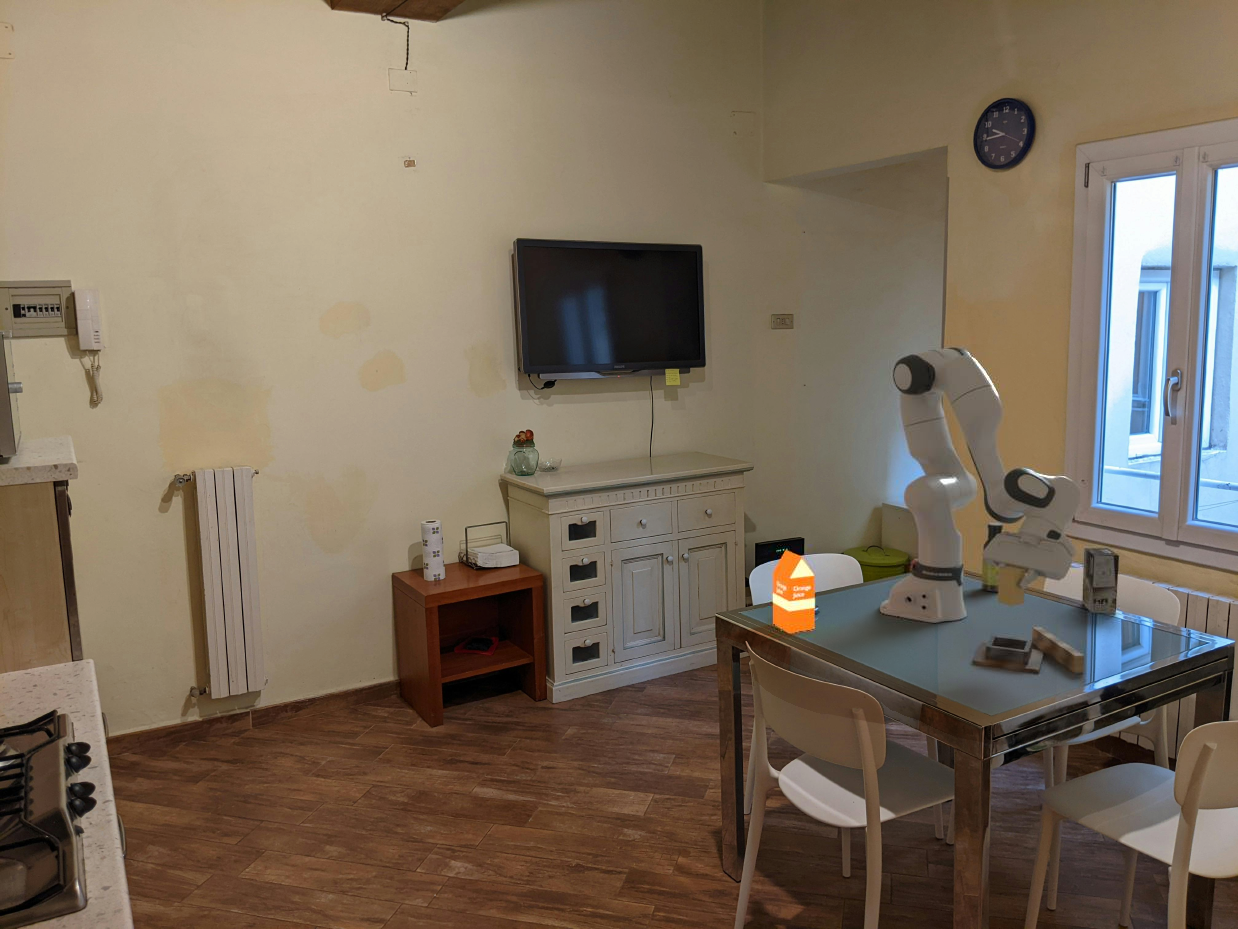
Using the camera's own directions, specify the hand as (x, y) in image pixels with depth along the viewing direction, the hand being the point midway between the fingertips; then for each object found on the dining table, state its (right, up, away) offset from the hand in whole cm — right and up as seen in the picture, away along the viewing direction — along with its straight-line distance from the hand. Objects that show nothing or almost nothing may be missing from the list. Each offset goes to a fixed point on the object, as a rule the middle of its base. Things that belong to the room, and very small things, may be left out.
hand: (1009, 584), depth 210 cm
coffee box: (+41, -12, +38) cm, 57 cm away
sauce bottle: (+20, -10, +59) cm, 63 cm away
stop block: (+1, -4, +1) cm, 4 cm away
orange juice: (-44, -15, +31) cm, 56 cm away
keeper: (+1, -18, +3) cm, 18 cm away
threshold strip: (+12, -17, +3) cm, 21 cm away
